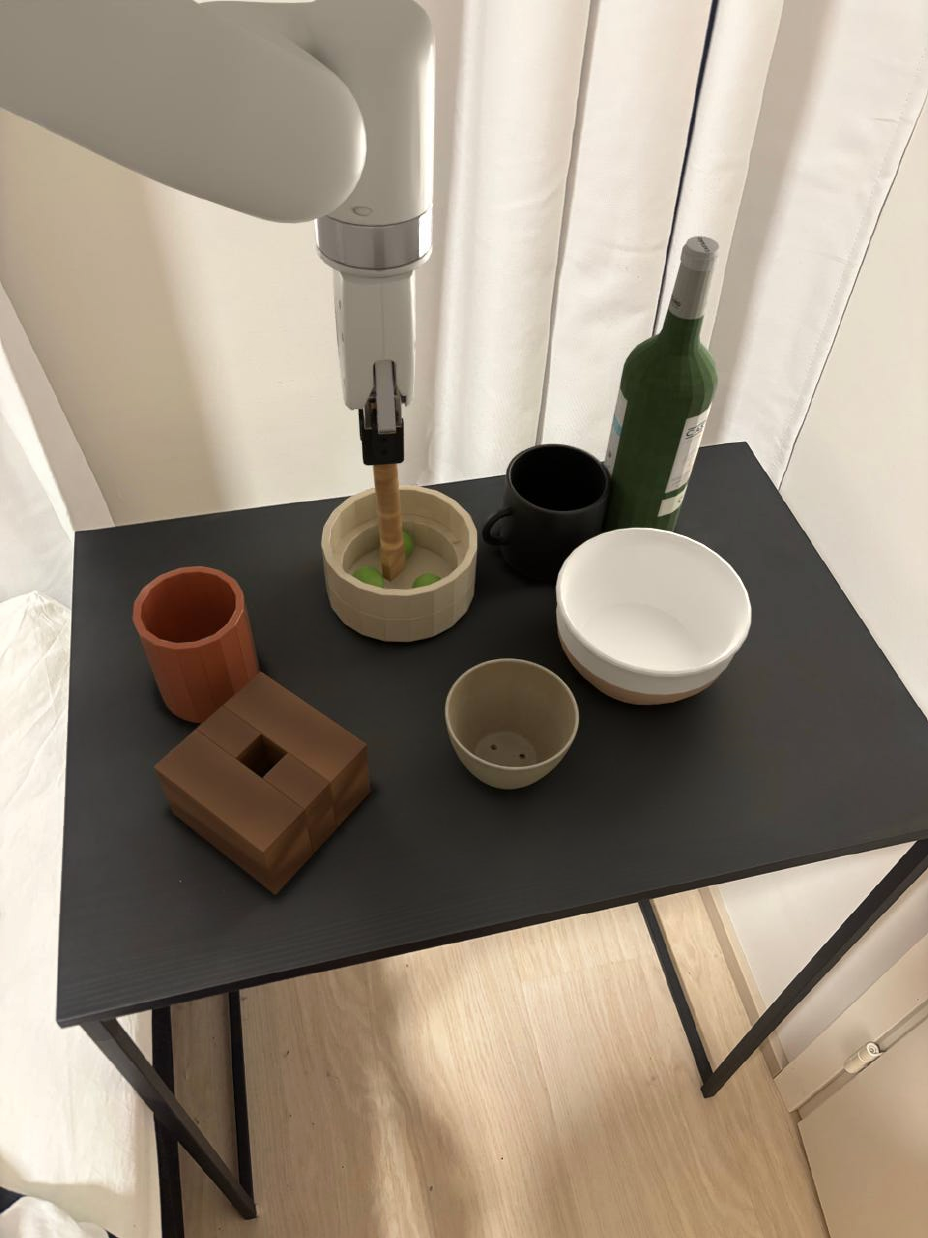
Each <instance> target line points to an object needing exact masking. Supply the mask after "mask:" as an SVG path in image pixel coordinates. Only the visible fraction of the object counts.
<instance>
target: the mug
mask: <svg viewBox="0 0 928 1238" xmlns="http://www.w3.org/2000/svg"><path fill="white" fill-rule="evenodd" d="M610 484H611V483H610V476H609V474H608V471H607V469H606V468H605V466H604V463H603V462H601V460H600V459H599V458H597V457H596V456H595V455H593V454H592V453H590V452H588V451H586V450H584V449H582V448H579V447H576V446H574V445H569V444H564V443H543V444H537V445H533V446H530V447H527V448H526V449H524V450H521V451H520V452H519V453H517V454H516V455H515V456H513V458H511V460H510V462H509V463H508V465H507V468H506V470H505V478H504V491H503V500H502V507H500V508H498V509H496V510H494V511H493V512H492V513H491V514H489V515H488V517H487V518H486V519H485V520H484V522H483V524H482V527H481V537H482V539H483V542H484V543H485V544H487V546H491V547H499V548H500V549H499V550H500V551H501V554H502V556H503V558H504V560H505V561H506V563H507V564H508V565H509V566H510V567H511V568H512V569H513V570H515V571H516V572H518V573H519V574H521V575H523V576H525V577H527V578H530V579H531V580H535V581H542V582H557V579H558V574H559V572H560V570H561V568H562V566H563V564H564V562H565V560H566V559H567V558H568V557H569V556H570V554H571V553H572V552H573V551H574V550H575V549H576V548H578V547H579V546H580V545H582V544H583V543H584V542H586V541H587V540H589V539H591V538H593V537H596V536H598V535H600V534H601V529H602V524H603V520H604V515H605V510H606V506H607V501H608V496H609V492H610ZM499 520H500V530H499V536H494V535H492V533H491V531H492V528H493V526H495V524H496V523H497V522H498V521H499Z"/></svg>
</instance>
